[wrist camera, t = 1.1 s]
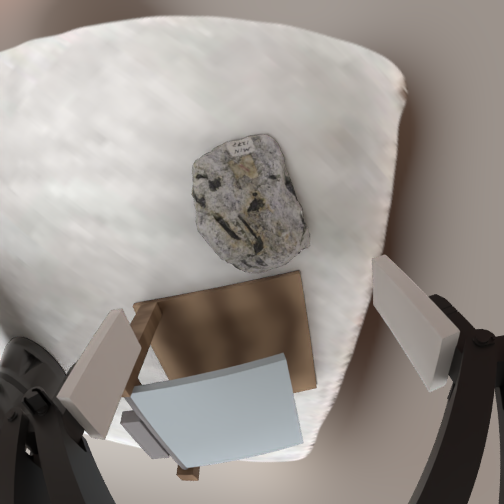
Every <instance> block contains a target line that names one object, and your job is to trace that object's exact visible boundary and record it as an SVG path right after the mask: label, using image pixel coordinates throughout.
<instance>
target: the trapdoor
mask: <svg viewBox="0 0 504 504" xmlns="http://www.w3.org/2000/svg"><path fill="white" fill-rule="evenodd" d="M124 398H125V399H126V401H127V402H128V403H129V405H130V406H131V408H132V409H133V411H124V412H122V417H121V425H122V426H123V427H124V428H125V429H126V431H127V432H128V433H129V434H130V435H131V436H132V438H133V439H134V440H135V441H136V442H137V443H138V444H139V445H140V447H141V448H142V449H143V450H144V451H145V452H146V453H147V454H148V455H149V456H150V457H151V458H152V459H157V458H168V457H169V455H170V456H171V457H172V458H173V459H174V460H175V462H176V463H177V464H178V465H179V466H180V467H181V468H182V469H184V470H186V469H188V468H190V467H198V466H205V465H211V464H217V463H224V462H229V461H234V460H239V459H244V458H249V457H253V456H258V455H262V454H266V453H270V452H274V451H278V450H281V449H285V448H289V447H292V446H295V445H299V444H302V443H303V438H302V433H301V428H300V423H299V419H298V414H297V409H296V404H295V399H294V394H293V390H292V385H291V380H290V375H289V371H288V366H287V361H286V358H285V355H284V353H280V354H277V355H274V356H270V357H267V358H263V359H259V360H256V361H252V362H248V363H244V364H241V365H237V366H233V367H229V368H225V369H220V370H216V371H212V372H207V373H203V374H198V375H194V376H189V377H184V378H179V379H174V380H169V381H163V382H157V383H152V384H146V385H139V386H134V389H133V391H132V394H131V397H124Z"/></svg>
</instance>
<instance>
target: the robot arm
mask: <svg viewBox="0 0 504 504" xmlns="http://www.w3.org/2000/svg"><path fill="white" fill-rule="evenodd" d="M372 270H373V305H374V306H375V308H376V309H377V311H378V312H379V313H380V315H381V316H382V318H383V319H384V321H385V322H386V324H387V325H388V327H389V328H390V330H391V331H392V333H393V335H394V336H395V338H396V339H397V341H398V342H399V344H400V346H401V347H402V349H403V350H404V352H405V353H406V355H407V357H408V358H409V360H410V361H411V363H412V365H413V366H414V368H415V369H416V371H417V373H418V374H419V376H420V378H421V379H422V381H423V383H424V384H425V386H426V388H427V389H428V391H429V392H431V391H434V390H436V389H438V388H441V387H443V386H445V385H446V382H447V379H448V375H449V376H450V378H451V379H452V381H453V384H452V387H451V390H450V392H449V395H448V398H447V399H448V402H447V406H446V409H445V413H444V416H443V420H442V422H441V426H440V429H439V432H438V435H437V438H436V440H435V443H434V446H433V449H432V451H431V454H430V456H429V459H428V462H427V464H426V466H425V469H424V471H423V473H422V476H421V478H420V480H419V482H418V484H417V487H416V489H415V491H414V493H413V495H412V497H411V499H410V501H409V503H408V504H467V503H468V501H469V498H470V495H471V492H472V489H473V486H474V483H475V480H476V477H477V474H478V470H479V467H480V463H481V459H482V456H483V452H484V447H485V443H486V438H487V433H488V429H489V424H490V418H491V412H492V404H493V398H494V389H495V394H496V402H497V410H498V419H499V433H500V461H501V462H500V463H501V464H500V465H501V466H500V469H501V470H500V493H499V504H504V335H503V336H498V337H495V335H494V334H493V333H491V332H490V331H488V330H484V329H475V328H474V327H473V326H472V325H471V324H470V323H469V322H468V321H467V320H466V319H465V318H464V317H463V316H462V315H461V314H460V313H459V312H457V310H456V309H455V308H454V307H452V305H451V304H450V303H449V302H448V301H447V300H446V299H445V298H443V297H441V296H439V295H437V294H435V295H432V296H429V297H428V296H427V295H426V294H425V293H424V292H423V291H422V290H421V289H420V288H419V287H418V286H417V285H416V284H415V283H414V282H413V281H412V280H411V279H410V278H409V277H408V276H407V275H406V274H405V273H404V272H403V271H402V270H401V269H400V268H399V267H398V266H397V265H396V264H395V263H393V261H391V260H390V259H389V258H388V257H387V256H386V255H383V256H379V257H374V258H372ZM140 351H141V346H140V344H139V342H138V340H137V338H136V336H135V334H134V332H133V330H132V328H131V326H130V324H129V322H128V320H127V317H126V315H125V313H124V311H123V309H116V310H111V311H110V312H109V314H108V315H107V317H106V318H105V320H104V321H103V323H102V324H101V326H100V327H99V329H98V330H97V332H96V333H95V335H94V336H93V338H92V339H91V341H90V343H89V344H88V346H87V347H86V349H85V350H84V352H83V353H82V355H81V357H80V358H79V360H78V361H77V362H76V363H75V364H74V365H73V366H72V367H71V368H70V369H69V371H68V373H67V374H66V375H65V373H64V372H63V370H62V368H61V367H60V365H59V364H58V363H57V362H56V360H55V359H54V358H53V357H52V356H51V355H50V354H49V353H48V352H47V351H46V350H44V349H43V348H42V347H41V346H39V345H38V344H36V343H35V342H33V341H31V340H29V339H26V338H23V337H15V338H13V339H12V340H11V341H10V342H9V343H8V344H7V345H6V347H5V349H4V352H3V355H2V358H1V361H0V504H116V503H115V502H114V500H113V498H112V496H111V494H110V492H109V490H108V488H107V486H106V484H105V482H104V480H103V478H102V476H101V474H100V472H99V469H98V467H97V465H96V463H95V461H94V458H93V456H92V453H91V451H90V448H89V446H88V443H87V441H86V439H85V438H84V437H83V436H82V435H83V433H84V430H85V431H86V432H87V433H88V434H89V436H90V437H91V438H95V439H104V440H105V438H106V436H107V433H108V430H109V428H110V425H111V422H112V420H113V417H114V414H115V412H116V409H117V407H118V404H119V402H120V399H121V396H122V394H123V391H124V389H125V387H126V384H127V382H128V379H129V377H130V374H131V372H132V370H133V367H134V365H135V362H136V360H137V358H138V355H139V353H140ZM27 448H28V449H29V450H30V455H28V454H27V453H26V449H27Z"/></svg>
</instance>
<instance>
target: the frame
mask: <svg viewBox="0 0 504 504" xmlns="http://www.w3.org/2000/svg"><path fill="white" fill-rule="evenodd" d="M133 308H134V311H135V313H136V315H135V317H134V319H133V320H132V322H131V324H130V326H131V328H132V330H133V332H134V334H135V336H136V338H137V340H138V342H139V344H140V346H141V351H140V353H139V355H138V358H137V360H136V362H135V365H134V367H133V370H132V372H131V374H130V377H129V379H128V382H127V384H126V387H125V389H124V391H123V394H122V396H121V397H131V394H132V391H133V389H134V386H139V385H142V384H141V383H140V381H139V379H138V375H139V373H140V370H141V367H142V365H143V362H144V359H145V357H146V354H147V352H148V349H149V347H150V344H151V346H152V348H153V350H154V352H155V354H156V356H157V358H158V360H159V362H160V364H161V366H162V367H163V369H164V371H165V373H166V375H167V377H168V379H169V380H174V379H179V378H184V377H189V376H194V375H198V374H203V373H207V372H212V371H216V370H220V369H225V368H229V367H233V366H237V365H241V364H244V363H248V362H252V361H256V360H259V359H263V358H267V357H270V356H274V355H277V354H280V353H284V355H285V358H286V361H287V366H288V371H289V375H290V380H291V385H292V390H293V393H296V392H301V391H305V390H310V389H314V388H317V387H316V379H315V371H314V363H313V356H312V348H311V341H310V334H309V327H308V320H307V314H306V307H305V301H304V294H303V288H302V282H301V276H300V272H299V270H298V271H294V272H289V273H285V274H280V275H276V276H271V277H266V278H261V279H257V280H252V281H247V282H242V283H237V284H233V285H228V286H223V287H218V288H213V289H208V290H203V291H197V292H192V293H187V294H182V295H177V296H171V297H166V298H161V299H155V300H150V301H144V302H139V303H134V305H133ZM199 469H200V466H198V467H190V468H188V469H186V470H184V469H182V468H181V467H180V466H179V465H178V468H177V474H176V475H177V476H178V477H179V478H180V479H181V480H186V481H188V480H190V481H198V480H199Z"/></svg>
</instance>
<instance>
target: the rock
mask: <svg viewBox="0 0 504 504" xmlns="http://www.w3.org/2000/svg"><path fill="white" fill-rule="evenodd" d="M284 162H285V159H284V157H283V154H282V152H281V151H280V147H279V145H278V143H277V142H276V141H275V140H274V139H273V138H271V137H270V136H268V135H265V134H261V135H254V136H248V137H246V138H243V139H241V140H235V141H230V142H226V143H224V144H222V145H220V146H217V147H216V148H214V149H213V150H212V152H209V153H207V154H205V155H203V156H202V157H201V158H200V159H197V160H196V161H195V162H194V164H193V167H192V174H193V188H192V196H193V198H194V205H195V209H196V224H197V228H198V231H199V233H200V234H201V235H202V237H203V238H204V239H205V240H206V242H207V243H208V244H209V245H210V246H211V247H212V248H213V250H214V251H215V253H216V254H218V255H219V257H220V258H221V259H223V260H225V261H226V262H227V263H230V264H233V265H234V266H235V267H236V268H238V269H240V270H243V271H244V272H252V273H262V272H266V271H268V270H270V269H272V268H277V267H279V266H283V265H285V264H287V263H288V262H289V261H290V260H291V259H292V258H294V257H295V256H296V255H297V254H299V253H300V251H301V250H303V249H306V248H309V247H310V235H309V230H308V227H307V226H306V225H305V223H304V220H303V213H302V207H301V205H300V204H299V203H298V201H297V198H296V194H295V191H294V188H293V185H292V182H291V180H290V178H289V176H288V173H287V170H286V167H285V165H284Z"/></svg>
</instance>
